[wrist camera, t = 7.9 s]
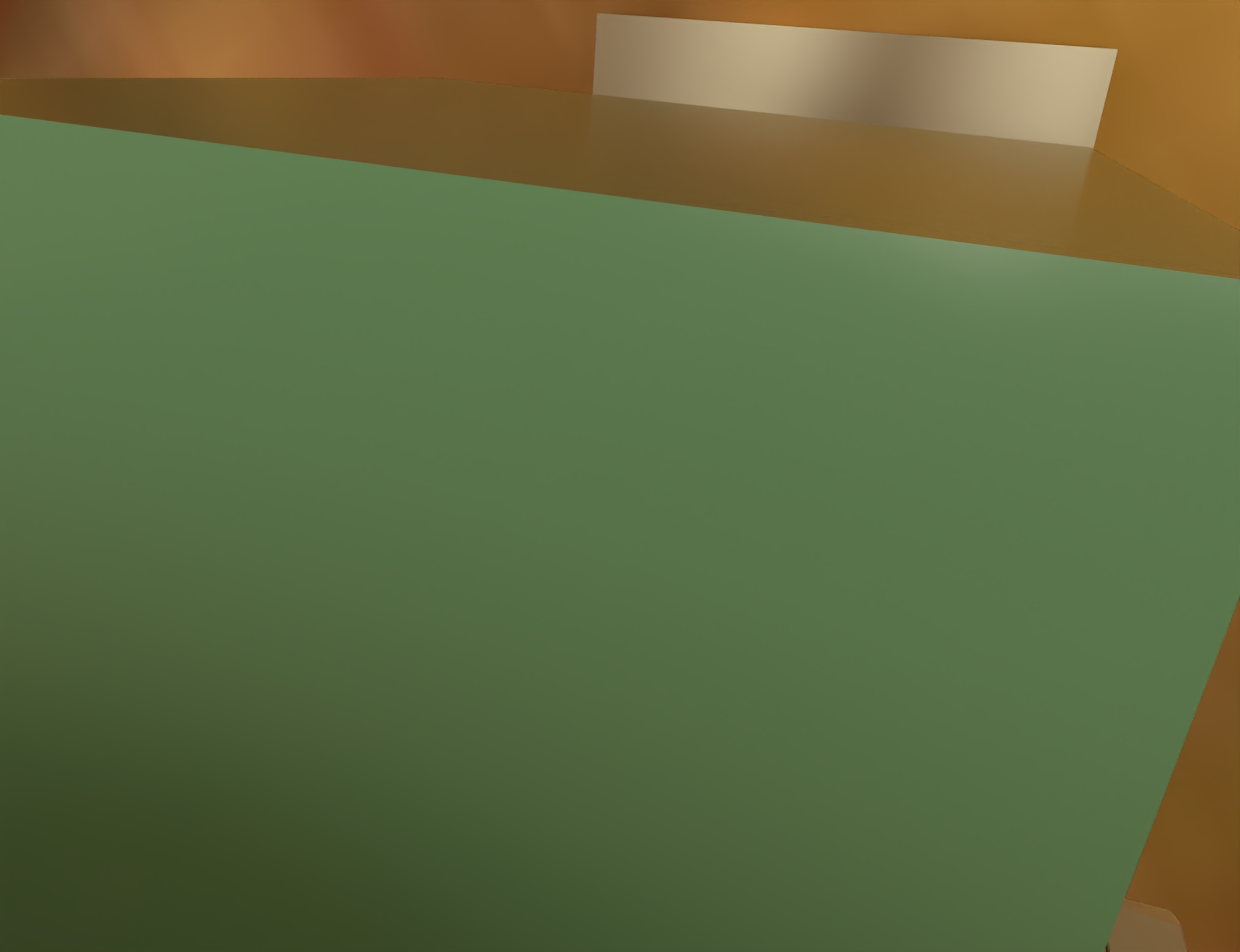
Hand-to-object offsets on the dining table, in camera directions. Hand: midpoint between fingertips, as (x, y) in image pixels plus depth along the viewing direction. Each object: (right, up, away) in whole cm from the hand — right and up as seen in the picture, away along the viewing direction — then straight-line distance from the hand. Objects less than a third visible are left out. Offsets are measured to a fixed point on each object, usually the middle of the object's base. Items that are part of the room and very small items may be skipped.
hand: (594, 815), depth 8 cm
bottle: (+1, -1, +3) cm, 3 cm away
